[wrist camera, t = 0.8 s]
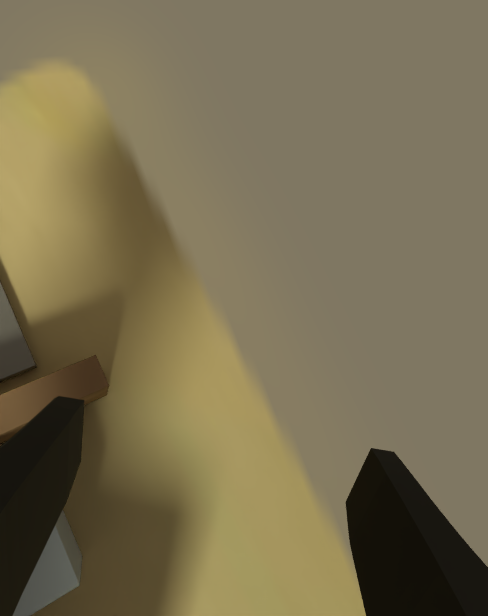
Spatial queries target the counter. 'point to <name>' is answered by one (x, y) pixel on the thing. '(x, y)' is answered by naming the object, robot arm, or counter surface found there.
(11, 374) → the mat
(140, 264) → the counter surface
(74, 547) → the slate cube
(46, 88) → the counter surface
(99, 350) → the counter surface
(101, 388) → the walnut screen
